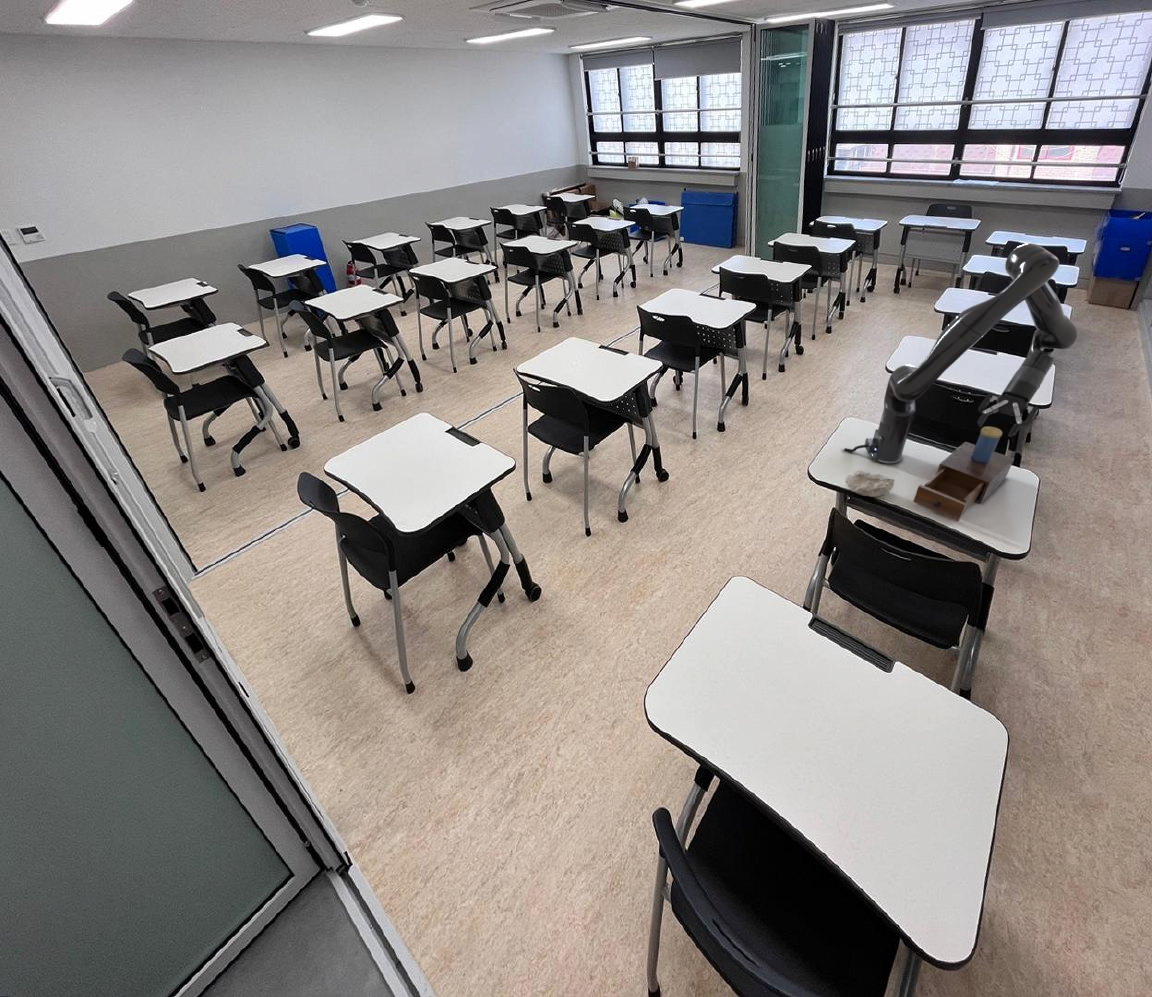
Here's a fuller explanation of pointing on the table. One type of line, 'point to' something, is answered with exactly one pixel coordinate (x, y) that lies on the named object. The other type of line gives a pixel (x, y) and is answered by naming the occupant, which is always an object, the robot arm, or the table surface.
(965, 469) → the cabinet
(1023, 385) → the robot arm
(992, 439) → the tin
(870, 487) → the stone
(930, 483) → the drawer
